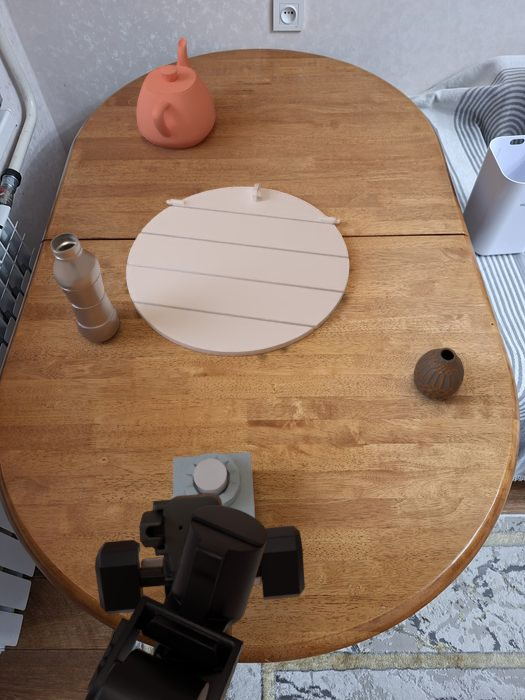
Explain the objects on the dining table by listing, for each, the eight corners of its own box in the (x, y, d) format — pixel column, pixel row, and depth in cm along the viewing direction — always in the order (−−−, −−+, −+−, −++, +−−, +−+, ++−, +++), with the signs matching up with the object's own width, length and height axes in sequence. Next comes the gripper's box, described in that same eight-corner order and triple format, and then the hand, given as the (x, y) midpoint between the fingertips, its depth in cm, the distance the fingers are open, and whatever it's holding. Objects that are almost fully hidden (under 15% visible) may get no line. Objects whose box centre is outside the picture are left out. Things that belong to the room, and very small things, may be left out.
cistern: (258, 559, 69) (256, 542, 63) (179, 566, 69) (169, 549, 63) (252, 469, 76) (250, 445, 70) (180, 475, 76) (171, 451, 69)
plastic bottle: (73, 335, 90) (28, 247, 73) (102, 308, 93) (65, 218, 76) (102, 353, 88) (62, 267, 71) (131, 325, 91) (99, 236, 74)
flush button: (228, 494, 66) (227, 488, 65) (195, 497, 66) (193, 491, 65) (227, 463, 69) (226, 457, 67) (195, 466, 69) (193, 459, 67)
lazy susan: (164, 178, 111) (161, 164, 109) (358, 199, 107) (360, 185, 104) (95, 337, 89) (89, 324, 87) (335, 372, 85) (337, 360, 82)
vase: (455, 370, 85) (472, 337, 77) (456, 409, 81) (474, 379, 74) (410, 364, 85) (422, 331, 78) (408, 403, 82) (421, 371, 74)
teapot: (157, 91, 129) (146, 32, 118) (227, 96, 127) (222, 36, 116) (126, 158, 115) (110, 98, 104) (204, 165, 114) (196, 104, 102)
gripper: (307, 518, 43) (288, 447, 58) (64, 539, 42) (110, 462, 57) (314, 645, 45) (294, 544, 60) (83, 667, 44) (123, 559, 59)
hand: (206, 525), depth 59 cm, fingers closed
